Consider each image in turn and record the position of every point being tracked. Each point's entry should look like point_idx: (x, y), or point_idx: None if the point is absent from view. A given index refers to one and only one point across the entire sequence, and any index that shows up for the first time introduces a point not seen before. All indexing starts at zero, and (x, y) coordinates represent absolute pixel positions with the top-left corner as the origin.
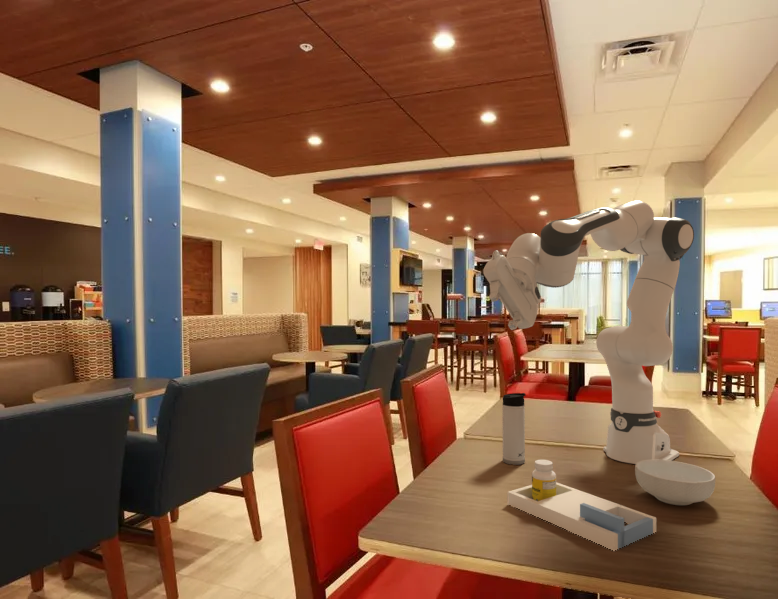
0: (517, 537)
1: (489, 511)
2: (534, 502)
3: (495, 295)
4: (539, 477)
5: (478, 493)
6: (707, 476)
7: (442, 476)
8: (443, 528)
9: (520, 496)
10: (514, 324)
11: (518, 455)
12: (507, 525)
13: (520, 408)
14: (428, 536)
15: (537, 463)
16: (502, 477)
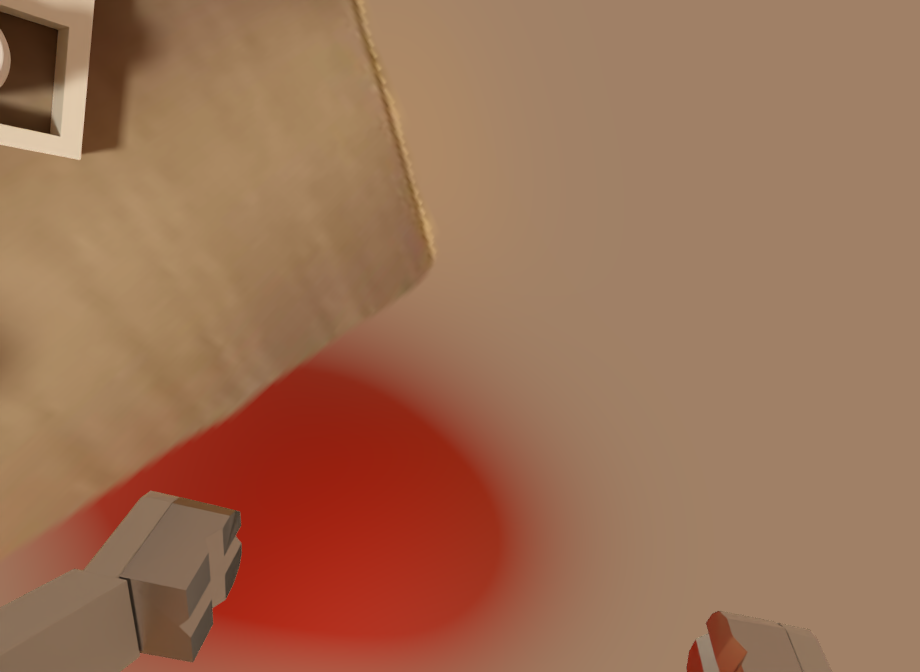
0: (242, 19)
1: (163, 169)
2: (89, 32)
3: (809, 636)
4: (7, 46)
5: (68, 284)
6: None
7: (44, 467)
8: (324, 190)
9: (81, 100)
10: (216, 511)
11: None
12: (202, 76)
13: None
14: (368, 187)
15: (1, 61)
16: None
